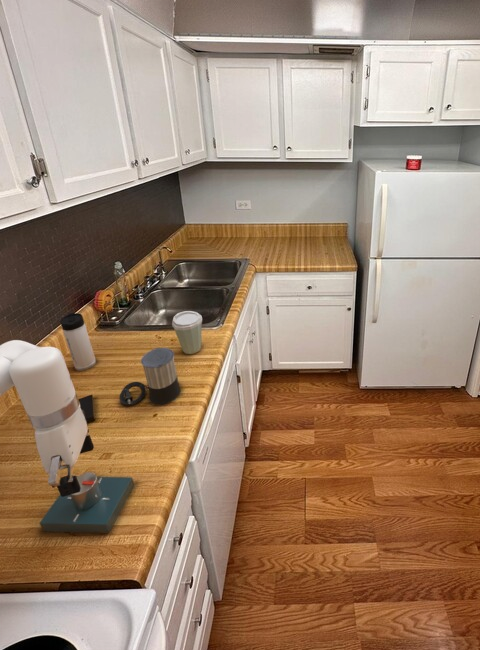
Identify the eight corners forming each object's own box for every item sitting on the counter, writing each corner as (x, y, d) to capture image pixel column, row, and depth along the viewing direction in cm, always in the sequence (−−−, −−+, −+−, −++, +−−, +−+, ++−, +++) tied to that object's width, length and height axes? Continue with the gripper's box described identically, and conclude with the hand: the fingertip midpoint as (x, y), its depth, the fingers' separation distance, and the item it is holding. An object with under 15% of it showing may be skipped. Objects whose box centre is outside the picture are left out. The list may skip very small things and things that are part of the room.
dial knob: (69, 510, 70) (62, 493, 69) (84, 487, 75) (78, 470, 73) (92, 511, 70) (86, 494, 68) (106, 487, 75) (101, 471, 73)
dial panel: (43, 532, 69) (38, 522, 68) (76, 484, 79) (72, 475, 77) (109, 533, 69) (106, 524, 68) (134, 485, 78) (132, 476, 77)
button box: (43, 441, 89) (38, 430, 88) (45, 416, 97) (41, 406, 96) (95, 421, 96) (92, 411, 94) (94, 399, 103) (90, 389, 102)
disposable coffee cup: (209, 341, 132) (205, 308, 126) (202, 359, 122) (197, 324, 116) (183, 342, 132) (177, 309, 126) (173, 359, 122) (166, 324, 116)
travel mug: (96, 357, 123) (82, 310, 115) (96, 367, 118) (82, 318, 110) (75, 363, 119) (60, 315, 112) (75, 373, 114) (58, 324, 107)
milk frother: (186, 394, 106) (179, 356, 100) (134, 424, 95) (123, 383, 89) (166, 373, 115) (158, 337, 109) (116, 399, 104) (105, 360, 98)
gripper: (48, 383, 70) (71, 442, 76) (8, 453, 54) (41, 519, 61) (89, 374, 72) (108, 432, 78) (61, 440, 57) (88, 505, 63)
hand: (79, 470), depth 69 cm, fingers open, 9 cm apart
